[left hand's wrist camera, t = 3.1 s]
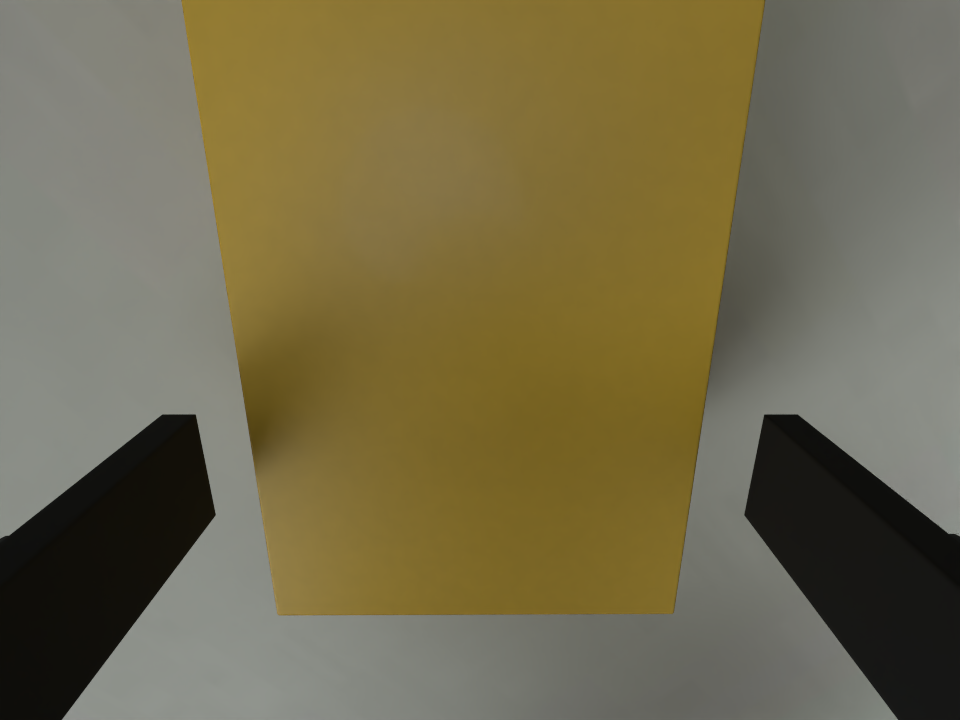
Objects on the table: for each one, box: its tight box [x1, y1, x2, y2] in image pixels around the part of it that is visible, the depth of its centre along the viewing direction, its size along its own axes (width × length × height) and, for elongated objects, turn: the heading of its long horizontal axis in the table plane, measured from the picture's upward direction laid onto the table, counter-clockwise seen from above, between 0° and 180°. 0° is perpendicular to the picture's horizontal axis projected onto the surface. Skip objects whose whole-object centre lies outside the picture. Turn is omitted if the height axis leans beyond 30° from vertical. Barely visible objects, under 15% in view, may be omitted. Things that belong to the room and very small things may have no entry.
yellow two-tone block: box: [182, 0, 765, 615], centre depth 16 cm, size 19×11×8 cm, turn 0°
